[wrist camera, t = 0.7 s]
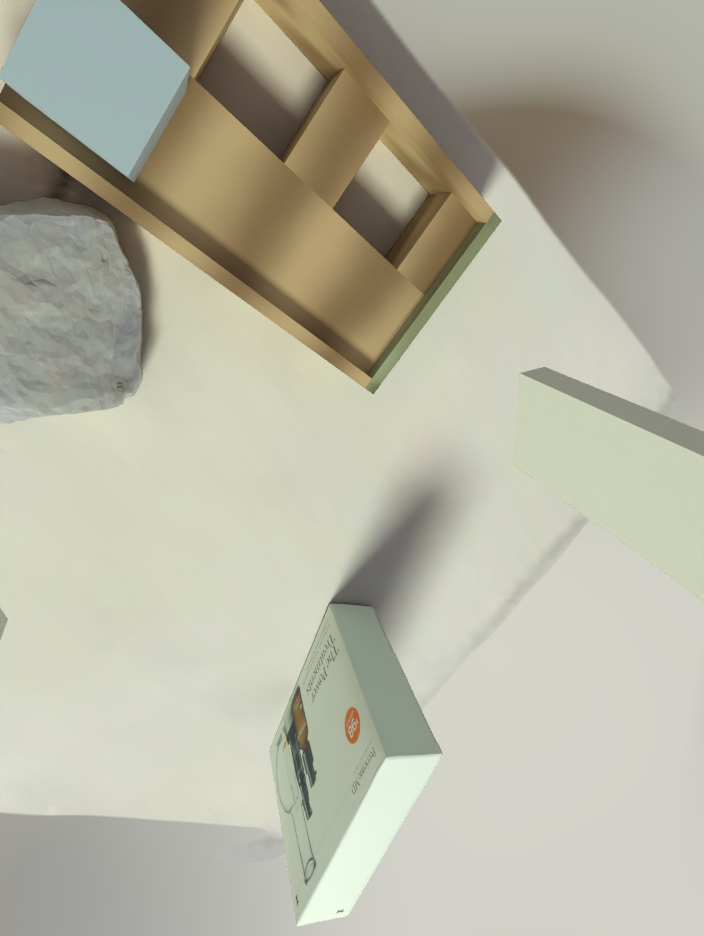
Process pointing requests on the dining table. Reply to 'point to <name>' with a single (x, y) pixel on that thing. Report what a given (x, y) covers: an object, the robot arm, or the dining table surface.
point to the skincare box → (347, 762)
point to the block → (98, 77)
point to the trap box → (288, 192)
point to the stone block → (65, 312)
